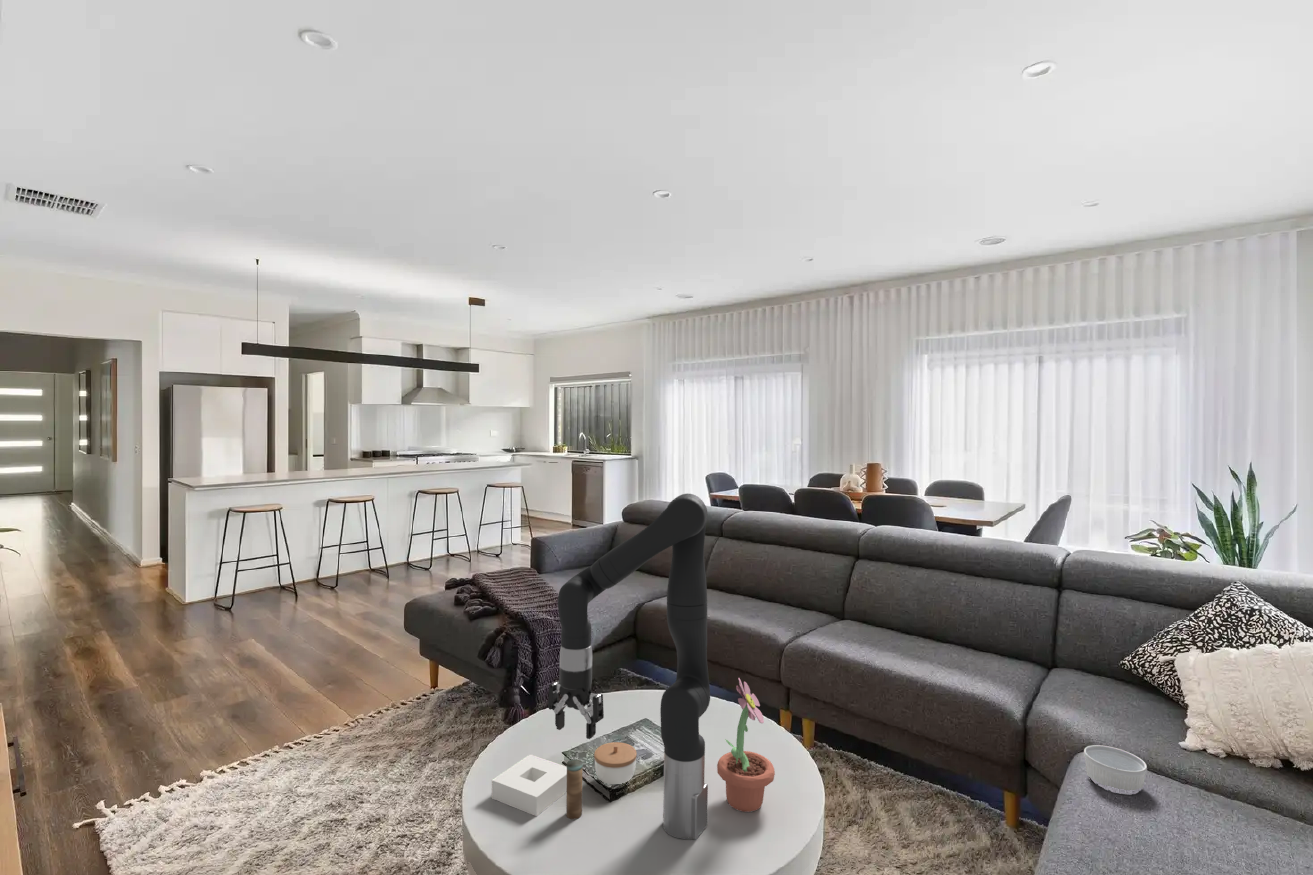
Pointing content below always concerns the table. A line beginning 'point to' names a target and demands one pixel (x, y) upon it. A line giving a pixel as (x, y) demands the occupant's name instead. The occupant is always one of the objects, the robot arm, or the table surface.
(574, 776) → the walnut dowel
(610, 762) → the lidded jar
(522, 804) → the socket block
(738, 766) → the decorative flower
